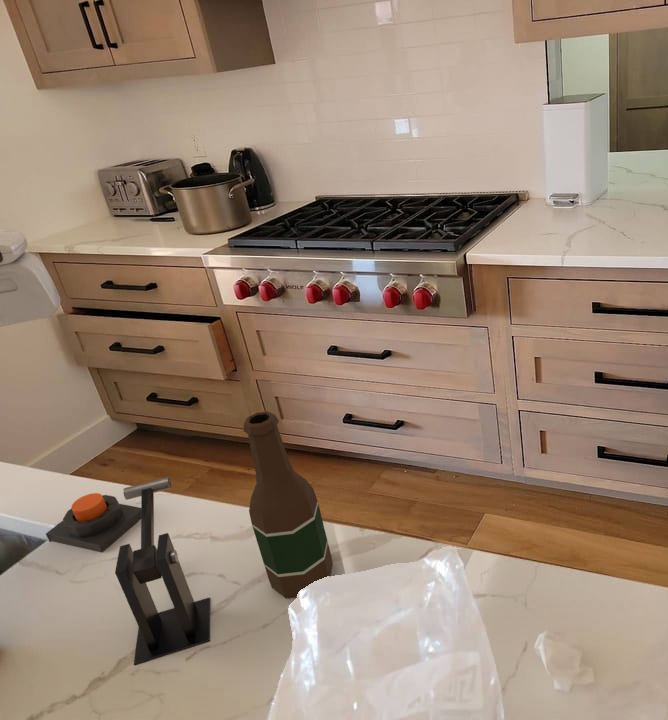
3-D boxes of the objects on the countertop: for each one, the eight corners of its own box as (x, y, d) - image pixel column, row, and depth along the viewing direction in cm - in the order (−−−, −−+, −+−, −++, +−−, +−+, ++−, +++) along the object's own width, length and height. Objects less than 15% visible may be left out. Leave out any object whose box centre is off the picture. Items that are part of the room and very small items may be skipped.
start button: (113, 506, 96) (109, 495, 96) (90, 524, 93) (86, 513, 92) (92, 502, 98) (87, 491, 97) (69, 519, 94) (64, 508, 94)
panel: (148, 520, 99) (139, 498, 97) (104, 558, 92) (94, 535, 90) (96, 509, 102) (87, 488, 100) (51, 545, 95) (40, 523, 94)
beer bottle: (314, 611, 80) (268, 441, 70) (259, 598, 83) (206, 433, 72) (346, 564, 87) (308, 403, 76) (294, 554, 89) (251, 397, 79)
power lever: (128, 495, 82) (121, 483, 81) (172, 484, 83) (166, 471, 82) (126, 588, 73) (118, 576, 71) (175, 574, 74) (168, 562, 73)
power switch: (142, 625, 81) (106, 542, 75) (212, 603, 83) (182, 521, 77) (136, 671, 75) (97, 585, 69) (212, 647, 77) (180, 561, 71)
